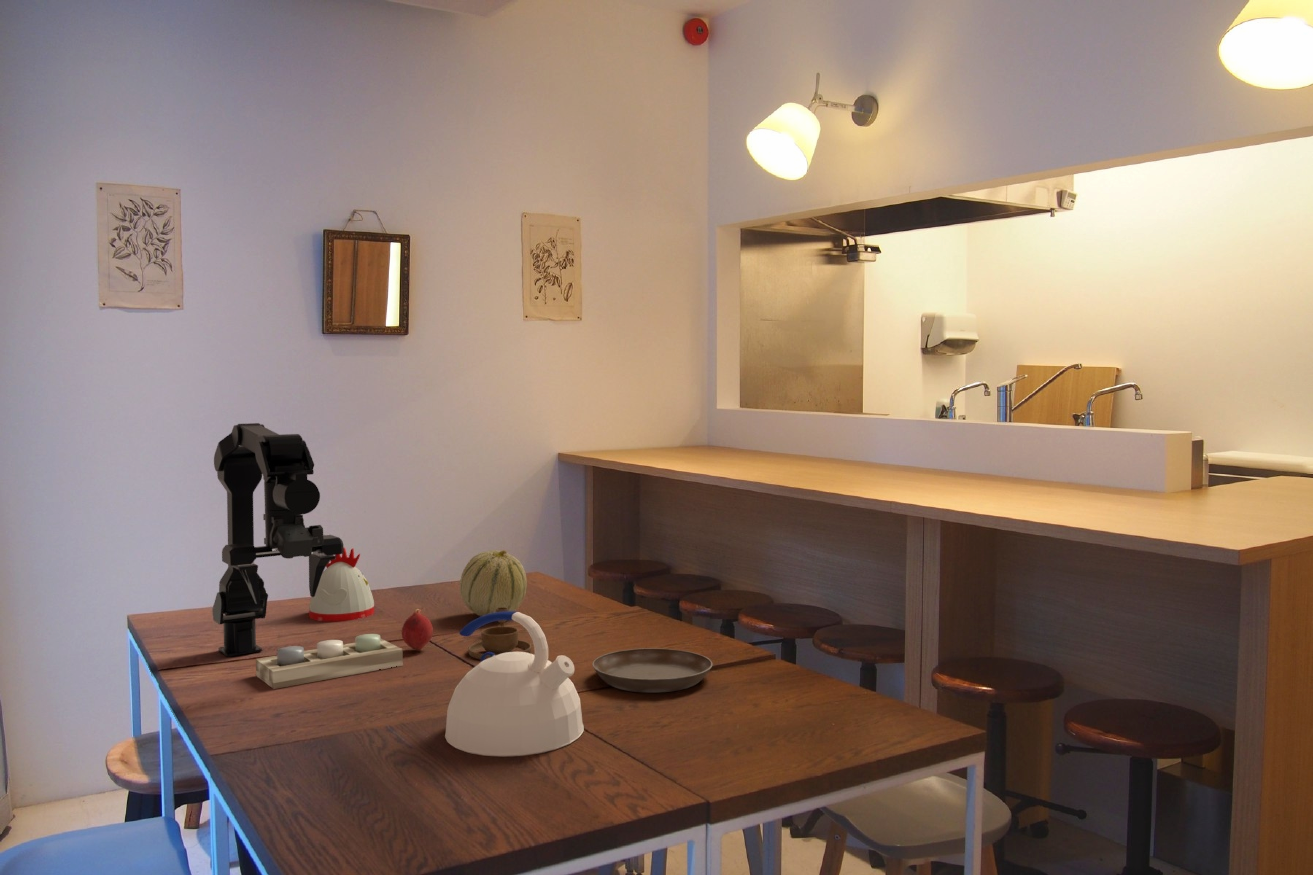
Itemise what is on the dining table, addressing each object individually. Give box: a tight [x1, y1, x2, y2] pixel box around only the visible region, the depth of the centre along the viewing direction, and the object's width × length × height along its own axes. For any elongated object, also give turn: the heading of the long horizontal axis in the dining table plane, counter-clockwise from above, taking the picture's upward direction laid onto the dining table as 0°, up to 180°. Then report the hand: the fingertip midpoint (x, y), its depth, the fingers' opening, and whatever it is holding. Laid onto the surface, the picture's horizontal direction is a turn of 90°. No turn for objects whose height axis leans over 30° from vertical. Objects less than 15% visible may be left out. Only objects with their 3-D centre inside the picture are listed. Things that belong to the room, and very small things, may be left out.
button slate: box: [276, 645, 305, 666], centre depth 179 cm, size 4×4×2 cm
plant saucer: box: [592, 647, 713, 694], centre depth 177 cm, size 21×21×3 cm
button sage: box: [354, 633, 381, 653], centre depth 188 cm, size 4×4×2 cm
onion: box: [401, 608, 434, 652], centre depth 197 cm, size 6×6×8 cm
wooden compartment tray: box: [255, 638, 404, 690], centre depth 184 cm, size 10×23×3 cm, turn 127°
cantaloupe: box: [459, 549, 528, 617], centre depth 225 cm, size 15×15×15 cm
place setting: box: [467, 607, 533, 661], centre depth 199 cm, size 18×20×6 cm
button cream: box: [316, 639, 344, 659], centre depth 184 cm, size 4×4×2 cm
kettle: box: [444, 610, 585, 758], centre depth 151 cm, size 20×21×18 cm
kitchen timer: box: [308, 546, 375, 622], centre depth 229 cm, size 14×14×15 cm
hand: (285, 600), depth 174 cm, fingers open, 9 cm apart
